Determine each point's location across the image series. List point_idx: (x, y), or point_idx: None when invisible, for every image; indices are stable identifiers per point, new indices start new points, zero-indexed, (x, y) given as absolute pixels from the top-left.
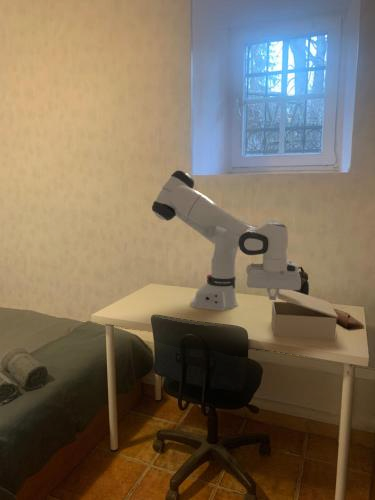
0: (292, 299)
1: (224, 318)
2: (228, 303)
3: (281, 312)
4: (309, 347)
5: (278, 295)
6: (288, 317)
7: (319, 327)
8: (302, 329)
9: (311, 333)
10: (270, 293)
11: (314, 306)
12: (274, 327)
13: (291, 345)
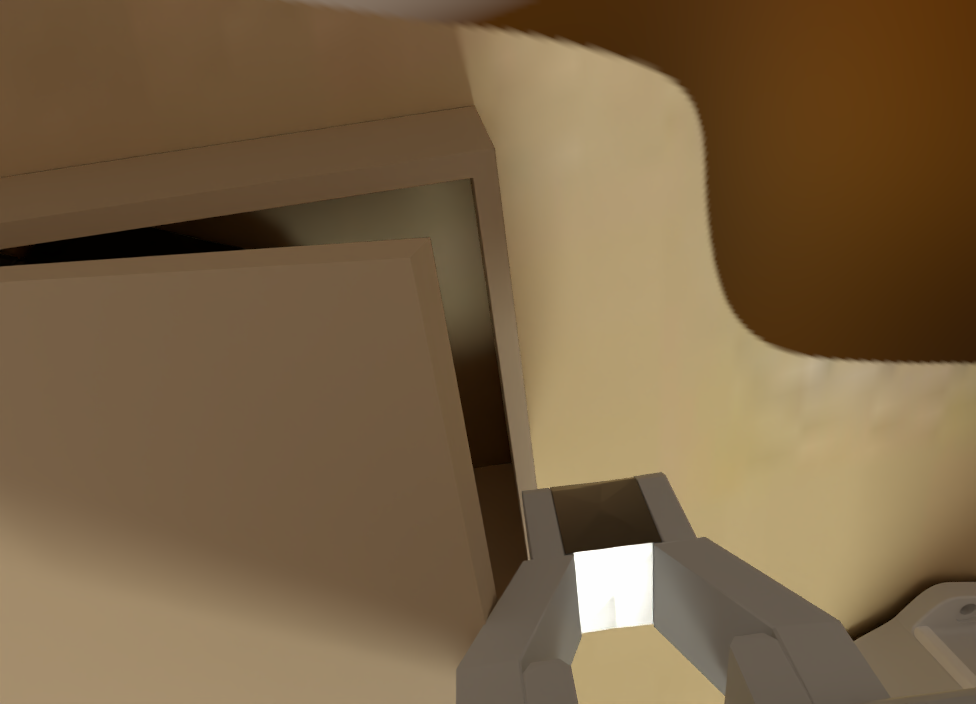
0: (83, 482)
1: (928, 467)
2: (906, 673)
3: None
4: (63, 10)
5: (457, 471)
6: (255, 180)
7: None
8: (111, 174)
9: (26, 185)
10: (680, 620)
11: None
12: (478, 120)
13: (266, 5)
